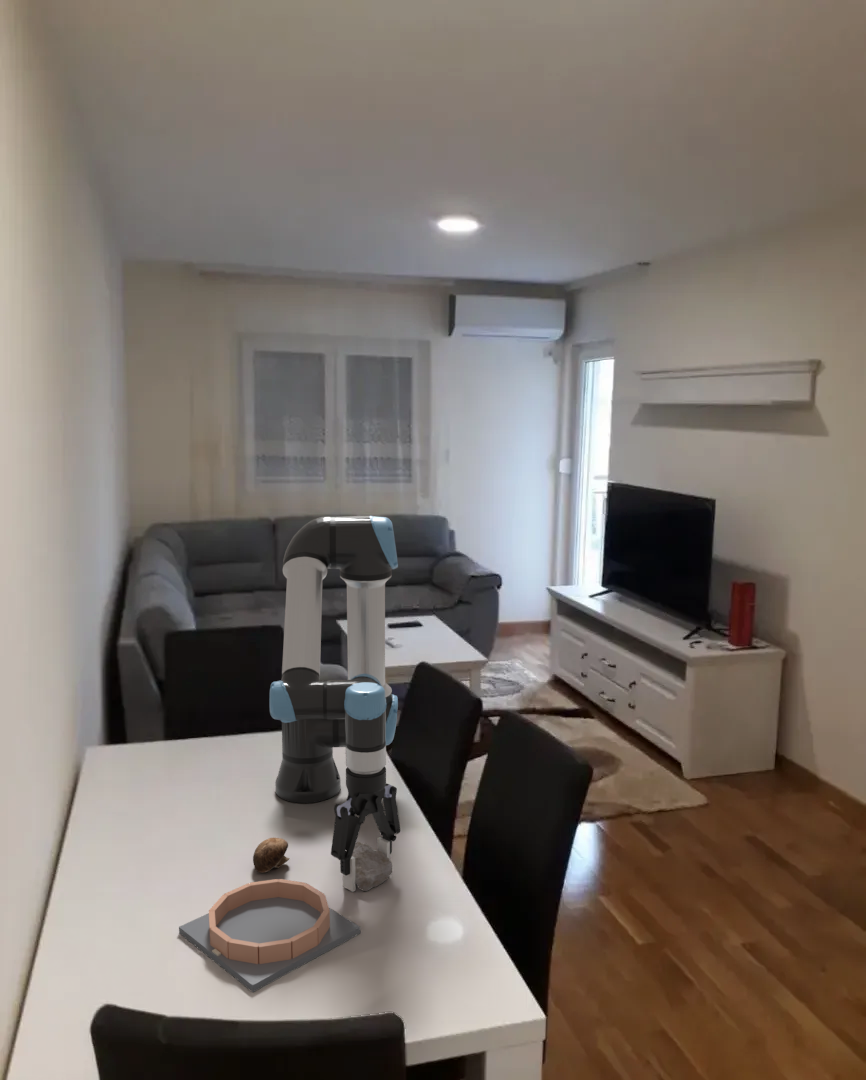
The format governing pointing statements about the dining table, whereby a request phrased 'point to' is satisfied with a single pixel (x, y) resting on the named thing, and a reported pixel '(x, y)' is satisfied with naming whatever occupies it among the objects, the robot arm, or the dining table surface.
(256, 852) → the mushroom
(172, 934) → the dining table surface
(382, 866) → the stone
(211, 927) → the socket
